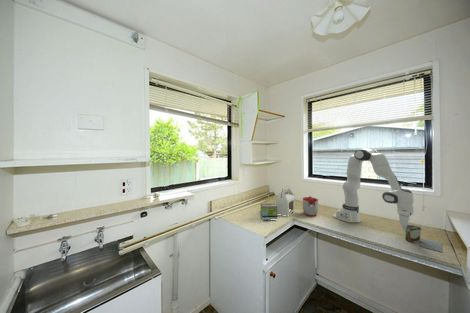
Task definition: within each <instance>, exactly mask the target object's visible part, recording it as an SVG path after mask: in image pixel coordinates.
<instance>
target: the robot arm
mask: <svg viewBox="0 0 470 313" xmlns="http://www.w3.org/2000/svg"><path fill="white" fill-rule="evenodd" d="M364 161H365V162H370V163H371V166H372V169H373V172H374V174H375V175H376V176H378V177H381V178H383V179H385V180H386V181H387V182H388V184H389V187H390V189H391V190H387V191H385V192H383V193H382V194H381V198H382V199H383V201H384V202H385V203H388V204H396V212H397V214H398V219H399V225H400V226H402V227H401V228H402V231H404V232H405V231H406V227H407V225H409V221H410V217H411V216H413V215H414V193H413V191H411V190H409V189H408V188H402V186H401V184H400V182H399V180H398V178H397V176H396V174H395V173H394V171H393V170H392V168H391V165H390V163H389V160H388V158H387V157H386V155H385V154H384V153H381V152H377V151H376V150H375V149H373V148H368V147H367V148H359V149H357V150H355V152H354V153H353V154H352V155H350V156H349V159H348V162H347V167H346V179H347V180H346V181H344V182H343V184H342V190H343V195H344V203H343V204H342V206H341V207H340V208H339V209H337V210H336V212H335V213H334V214H333V218H335V219H337V220H341V221H343V222H347V223H360V222H361V218H360V205H359V197H358V190H359V189H360V187H361V174H362V173H361V172H362V165H363V162H364Z"/></svg>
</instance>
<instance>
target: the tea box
mask: <svg viewBox="0 0 470 313" xmlns="http://www.w3.org/2000/svg"><path fill="white" fill-rule="evenodd" d="M260 218H262V219H261V221H262V220H271V219H277V220H278V215H277V206H276V202H275V203H260Z"/></svg>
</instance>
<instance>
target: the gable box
mask: <svg viewBox="0 0 470 313" xmlns="http://www.w3.org/2000/svg"><path fill="white" fill-rule="evenodd" d="M275 205H276V206H277V214H281V215H286V216H288V215H289V214H291V213H292V212H293V211H294V210H296V209H295V208H296V207H295V205H296V204H295V195H294V193H293V192H292V191H291V189H290V187H289V186H285V187H283V188H282V190H281V191H280V192H279V194H278V195H277V197H276V198H275ZM289 209H291V211H290V212H289ZM294 212H295V211H294ZM294 212H293V213H294ZM293 213H292V214H293ZM292 214H291V215H292ZM281 215H280V216H281ZM289 216H290V215H289ZM289 216H288V217H289Z"/></svg>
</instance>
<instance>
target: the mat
mask: <svg viewBox="0 0 470 313" xmlns="http://www.w3.org/2000/svg"><path fill="white" fill-rule="evenodd" d="M419 247H420V248H422V249H423V248H425V249H428V250H431V251H434V252H439V253H443V245H442V243H441V242H438V241H435V240H431V239H426V238H422V237H420V241H419Z"/></svg>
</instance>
